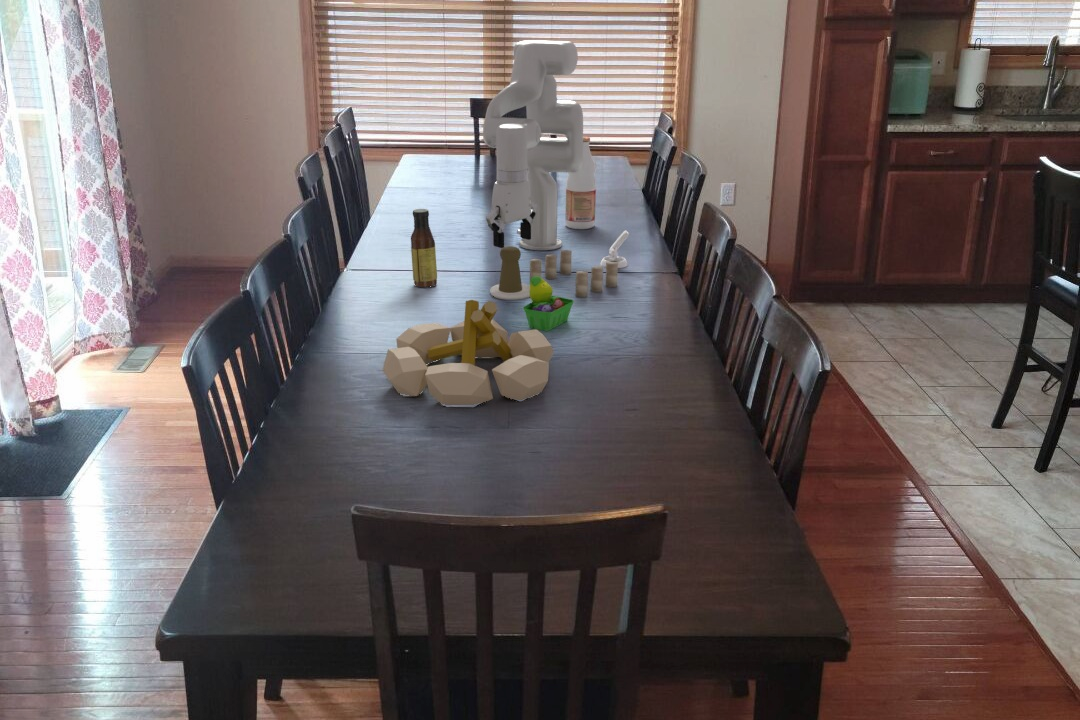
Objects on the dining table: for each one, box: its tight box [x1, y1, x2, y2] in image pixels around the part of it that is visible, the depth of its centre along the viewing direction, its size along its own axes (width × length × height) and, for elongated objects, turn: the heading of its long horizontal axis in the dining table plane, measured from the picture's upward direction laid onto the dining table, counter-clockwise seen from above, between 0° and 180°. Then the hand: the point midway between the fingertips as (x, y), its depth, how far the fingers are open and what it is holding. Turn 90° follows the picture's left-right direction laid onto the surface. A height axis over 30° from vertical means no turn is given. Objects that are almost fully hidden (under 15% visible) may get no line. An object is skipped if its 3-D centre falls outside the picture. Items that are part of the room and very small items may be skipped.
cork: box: [498, 245, 523, 293], centre depth 265 cm, size 6×6×11 cm
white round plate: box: [489, 283, 530, 301], centre depth 268 cm, size 11×11×1 cm
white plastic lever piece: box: [600, 230, 630, 269], centre depth 292 cm, size 8×12×7 cm
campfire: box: [382, 299, 555, 405], centre depth 212 cm, size 35×34×17 cm
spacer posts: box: [529, 249, 619, 298], centre depth 275 cm, size 19×15×6 cm
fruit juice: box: [565, 135, 597, 230], centre depth 328 cm, size 9×9×28 cm
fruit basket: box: [523, 276, 574, 332], centre depth 244 cm, size 11×9×11 cm
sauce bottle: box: [410, 208, 438, 288], centre depth 270 cm, size 7×6×20 cm
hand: (512, 242), depth 264 cm, fingers open, 9 cm apart
